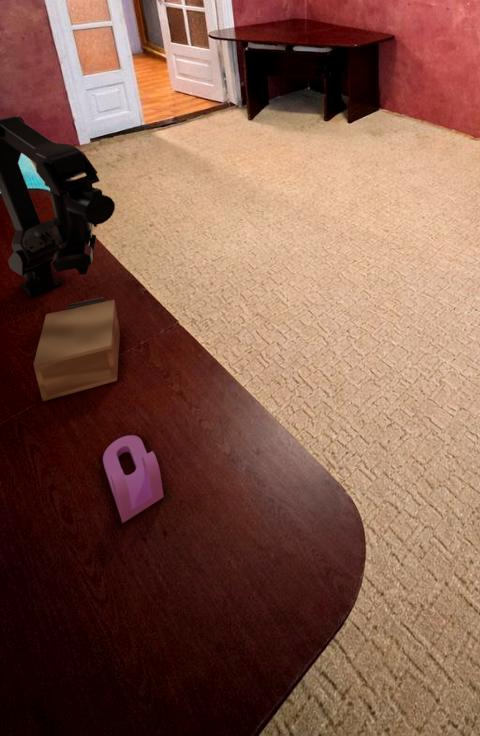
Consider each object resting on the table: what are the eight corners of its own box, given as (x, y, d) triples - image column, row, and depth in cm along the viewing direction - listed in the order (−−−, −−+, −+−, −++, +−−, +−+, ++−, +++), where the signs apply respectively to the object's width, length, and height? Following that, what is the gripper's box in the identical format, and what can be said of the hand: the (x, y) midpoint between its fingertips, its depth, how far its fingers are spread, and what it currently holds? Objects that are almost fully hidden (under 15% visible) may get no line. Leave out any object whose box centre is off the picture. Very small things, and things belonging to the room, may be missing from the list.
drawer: (60, 325, 102) (55, 299, 100) (117, 312, 107) (113, 287, 104) (47, 386, 88) (40, 357, 85) (113, 369, 92) (108, 341, 90)
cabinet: (54, 348, 97) (46, 314, 94) (119, 332, 102) (114, 299, 99) (42, 401, 86) (33, 364, 83) (117, 380, 91) (110, 345, 88)
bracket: (163, 497, 72) (158, 464, 70) (122, 523, 69) (116, 489, 66) (137, 435, 81) (133, 404, 79) (100, 455, 78) (93, 423, 75)
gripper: (31, 195, 102) (45, 257, 107) (11, 240, 86) (28, 310, 92) (92, 187, 107) (103, 247, 112) (84, 228, 91) (97, 296, 96)
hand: (83, 273), depth 103 cm, fingers closed
